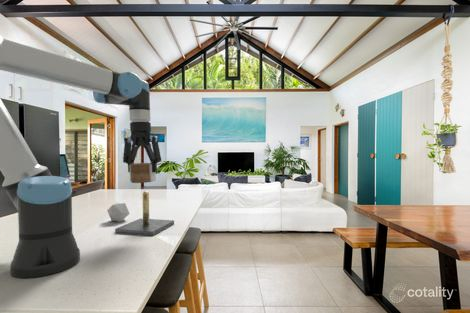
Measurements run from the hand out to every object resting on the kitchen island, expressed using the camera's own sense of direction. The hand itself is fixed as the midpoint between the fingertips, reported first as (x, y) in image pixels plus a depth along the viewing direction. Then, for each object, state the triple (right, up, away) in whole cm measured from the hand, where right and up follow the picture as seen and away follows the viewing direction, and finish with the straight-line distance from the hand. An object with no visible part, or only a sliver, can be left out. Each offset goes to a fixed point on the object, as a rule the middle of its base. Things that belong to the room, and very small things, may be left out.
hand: (142, 180), depth 103 cm
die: (-16, -19, +15) cm, 29 cm away
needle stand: (0, -19, +3) cm, 19 cm away
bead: (0, 0, 0) cm, 0 cm away
